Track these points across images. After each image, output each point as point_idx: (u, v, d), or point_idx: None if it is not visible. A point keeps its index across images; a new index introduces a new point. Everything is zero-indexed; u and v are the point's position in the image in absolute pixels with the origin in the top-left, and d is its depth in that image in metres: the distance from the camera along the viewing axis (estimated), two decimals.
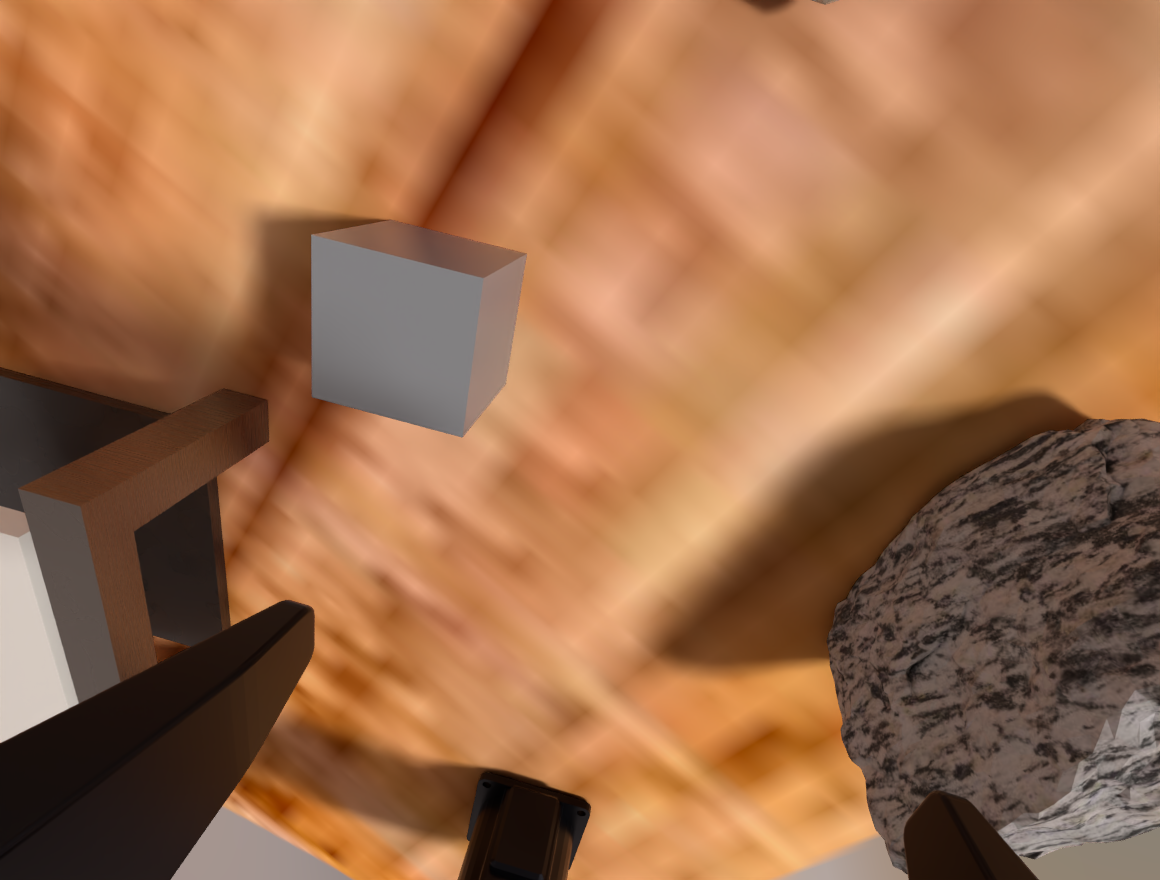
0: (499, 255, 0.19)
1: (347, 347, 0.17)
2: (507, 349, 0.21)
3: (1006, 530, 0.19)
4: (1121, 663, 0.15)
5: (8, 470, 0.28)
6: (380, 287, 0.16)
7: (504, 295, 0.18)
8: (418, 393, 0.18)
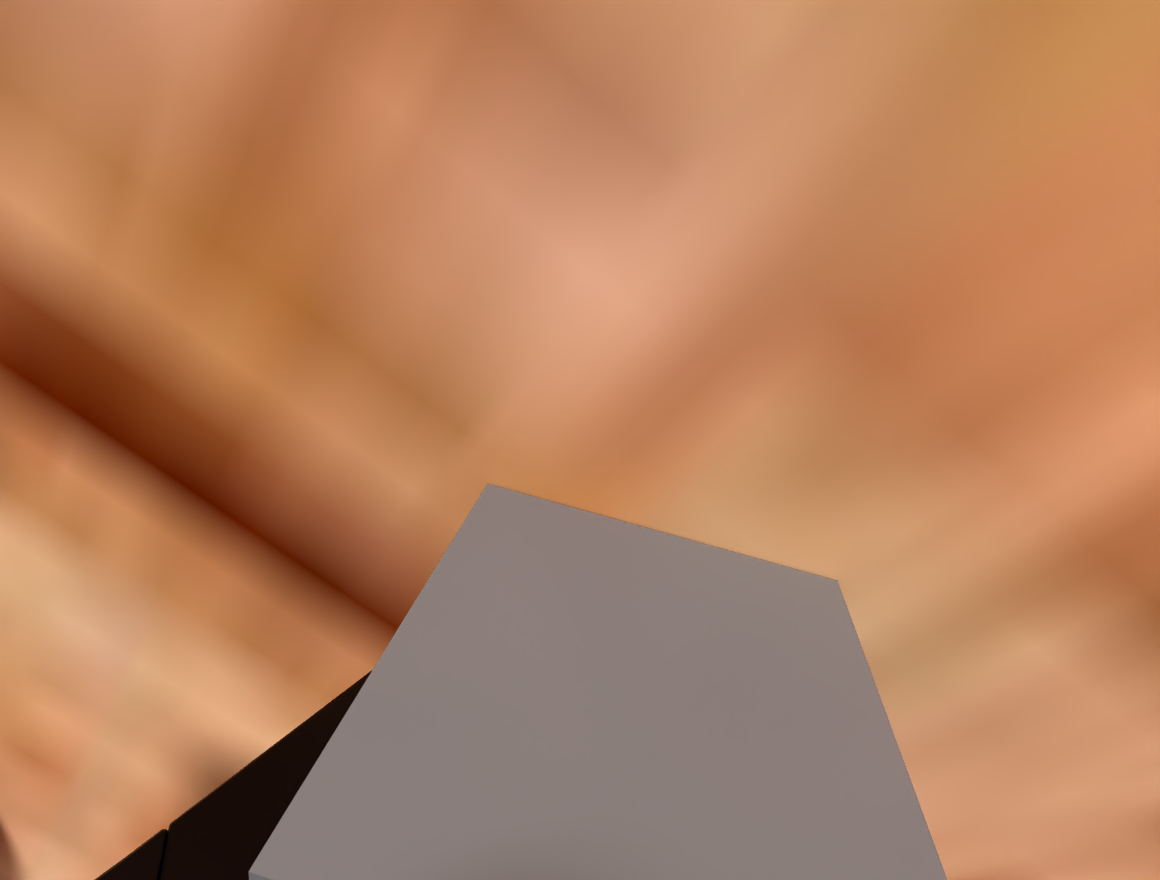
0: None
1: None
2: (724, 581, 0.07)
3: None
4: None
5: None
6: None
7: (509, 625, 0.06)
8: None
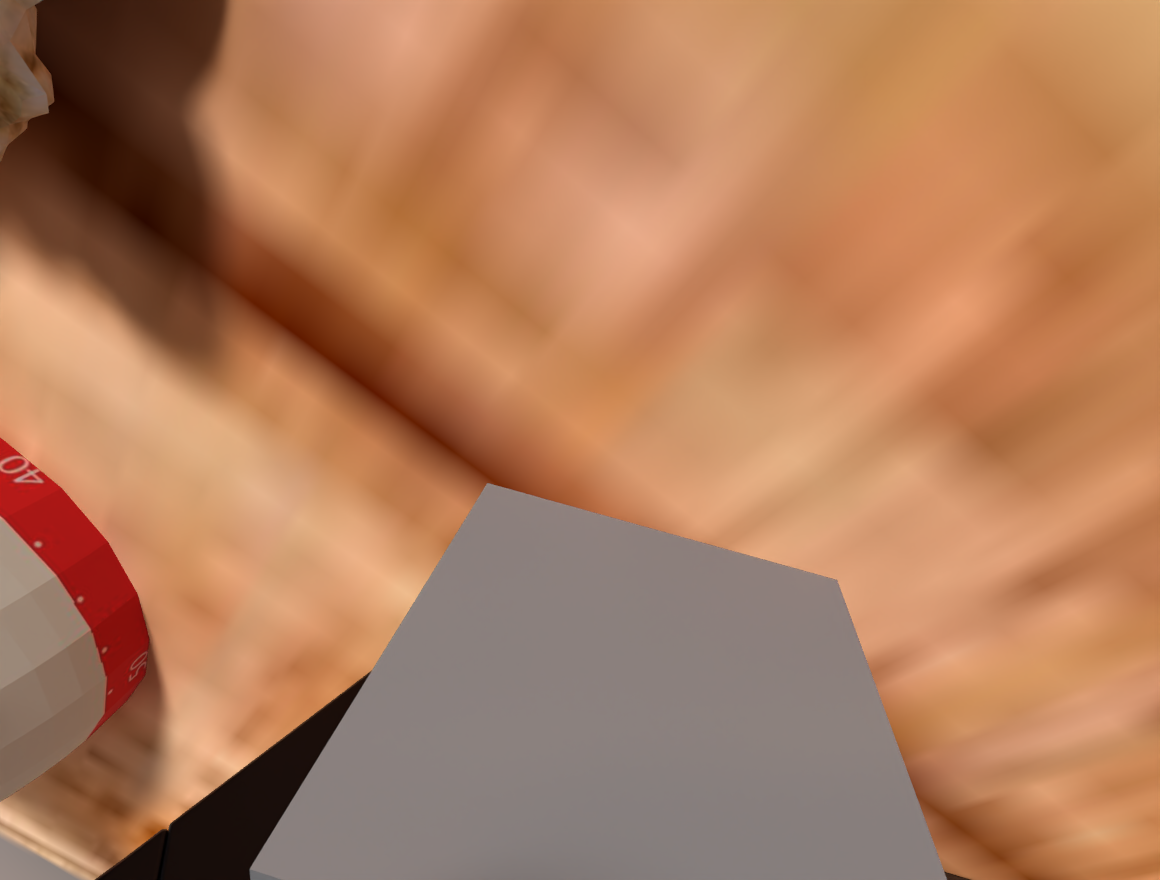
0: None
1: None
2: (724, 580, 0.07)
3: None
4: None
5: None
6: None
7: (509, 624, 0.06)
8: None
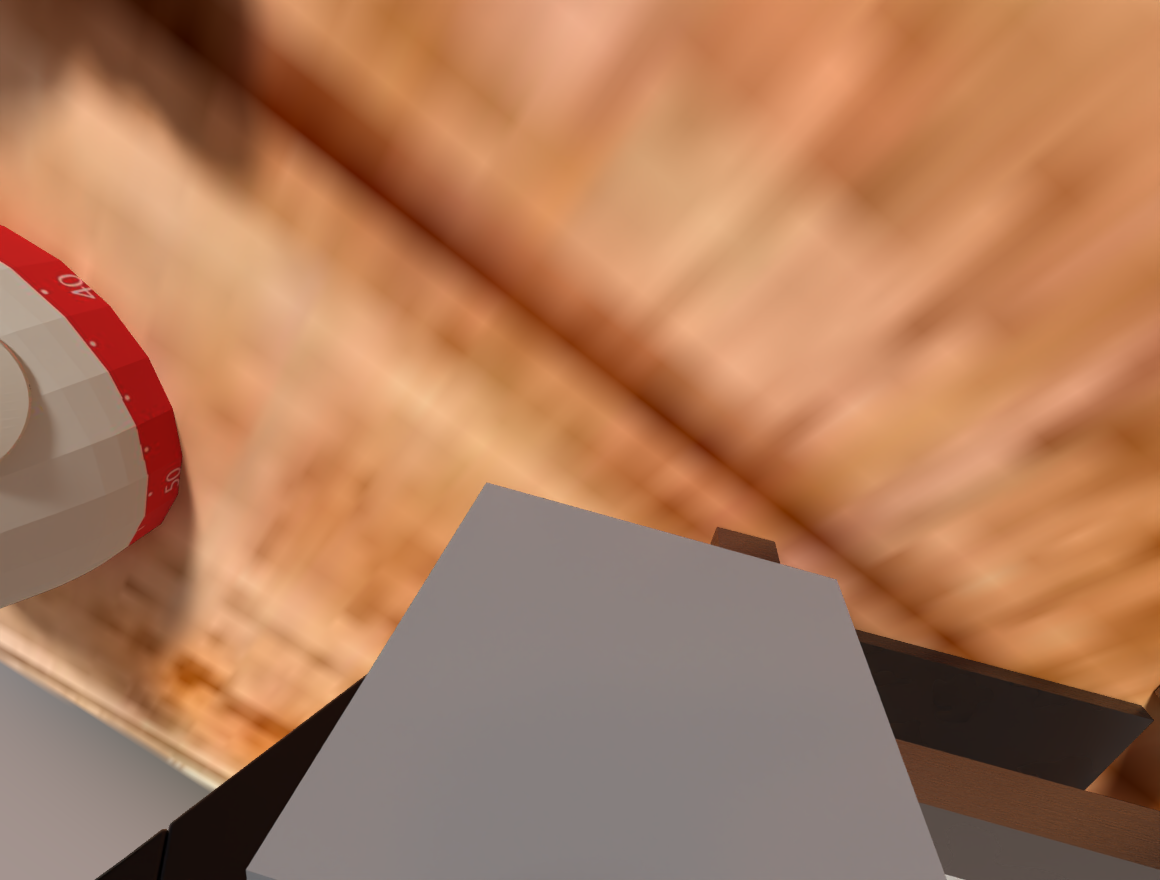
0: None
1: None
2: (723, 580, 0.07)
3: None
4: None
5: None
6: None
7: (508, 624, 0.06)
8: None
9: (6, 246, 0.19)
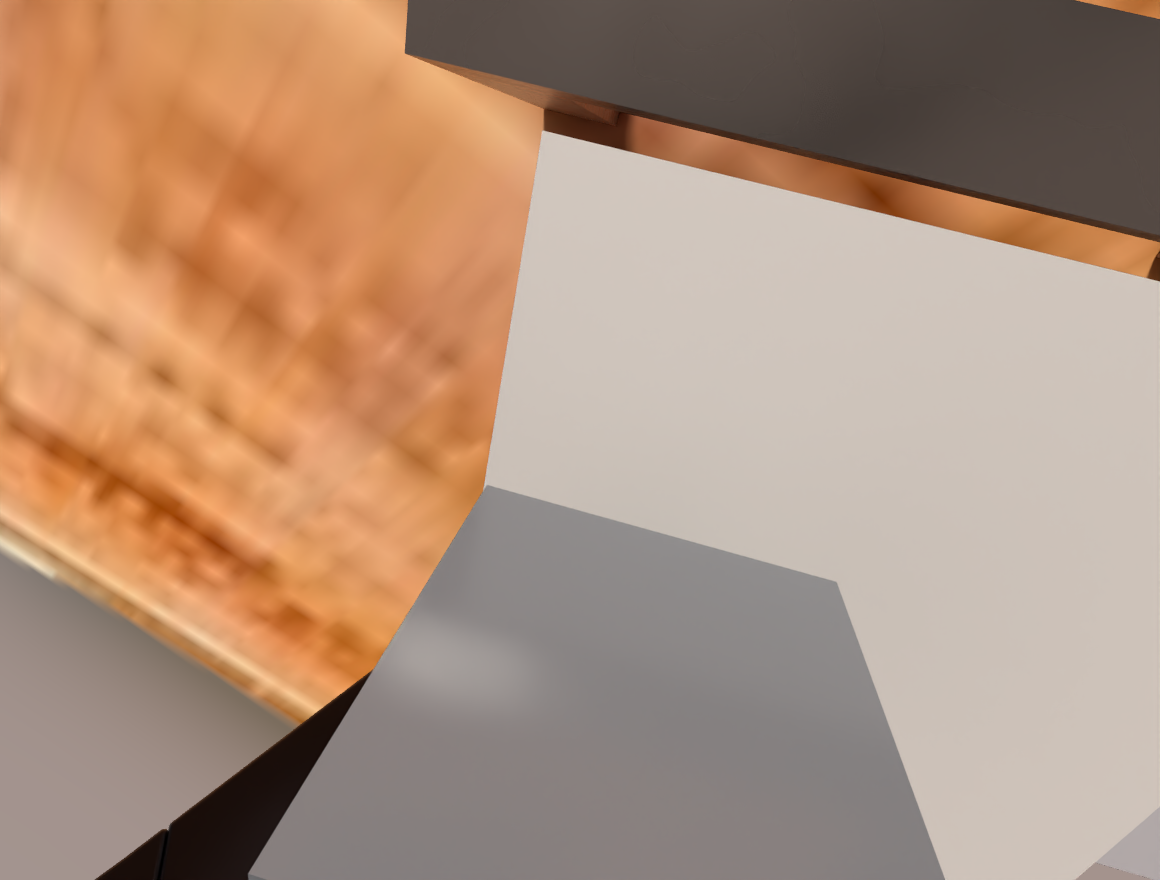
0: None
1: None
2: (723, 582, 0.07)
3: None
4: None
5: None
6: None
7: (508, 626, 0.06)
8: None
9: None
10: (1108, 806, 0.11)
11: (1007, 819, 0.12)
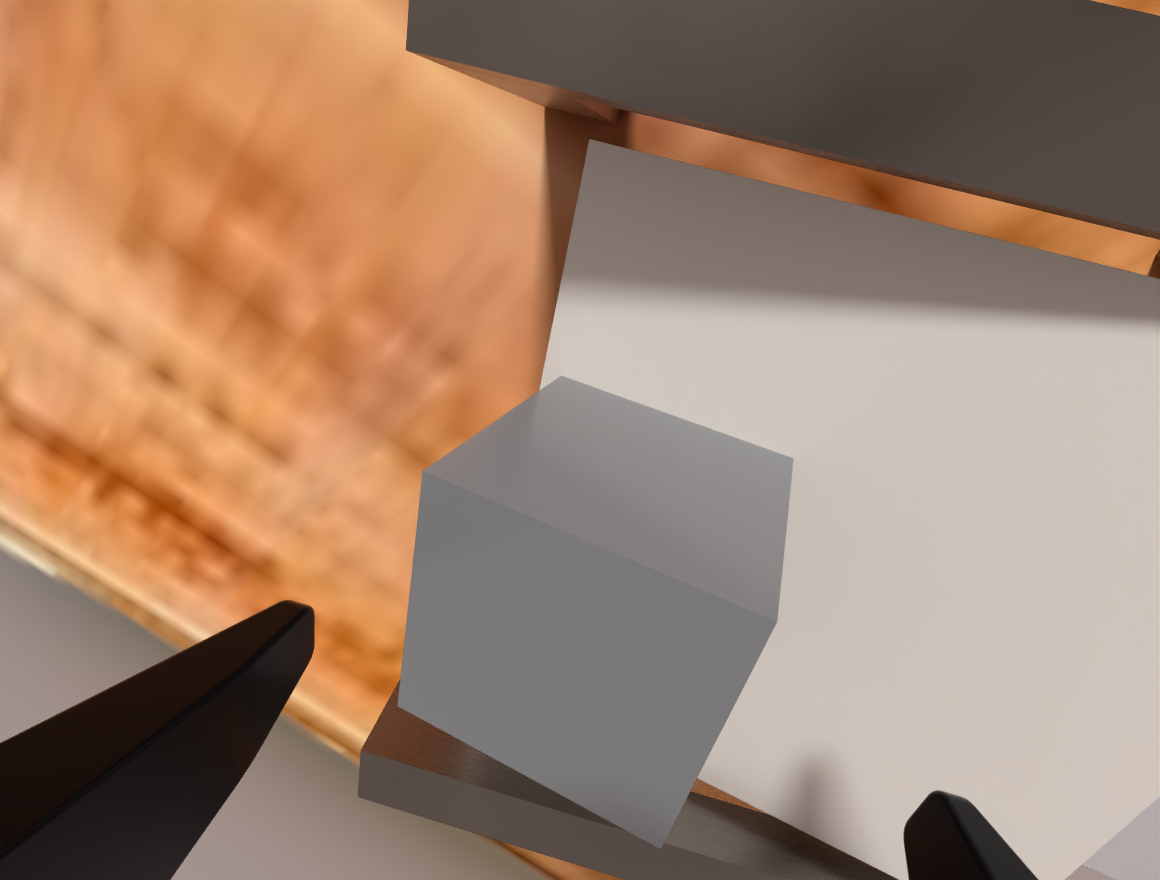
0: None
1: (562, 745, 0.09)
2: (707, 442, 0.11)
3: None
4: None
5: None
6: (457, 648, 0.09)
7: (559, 430, 0.10)
8: (654, 670, 0.08)
9: None
10: (1097, 794, 0.11)
11: (993, 795, 0.12)
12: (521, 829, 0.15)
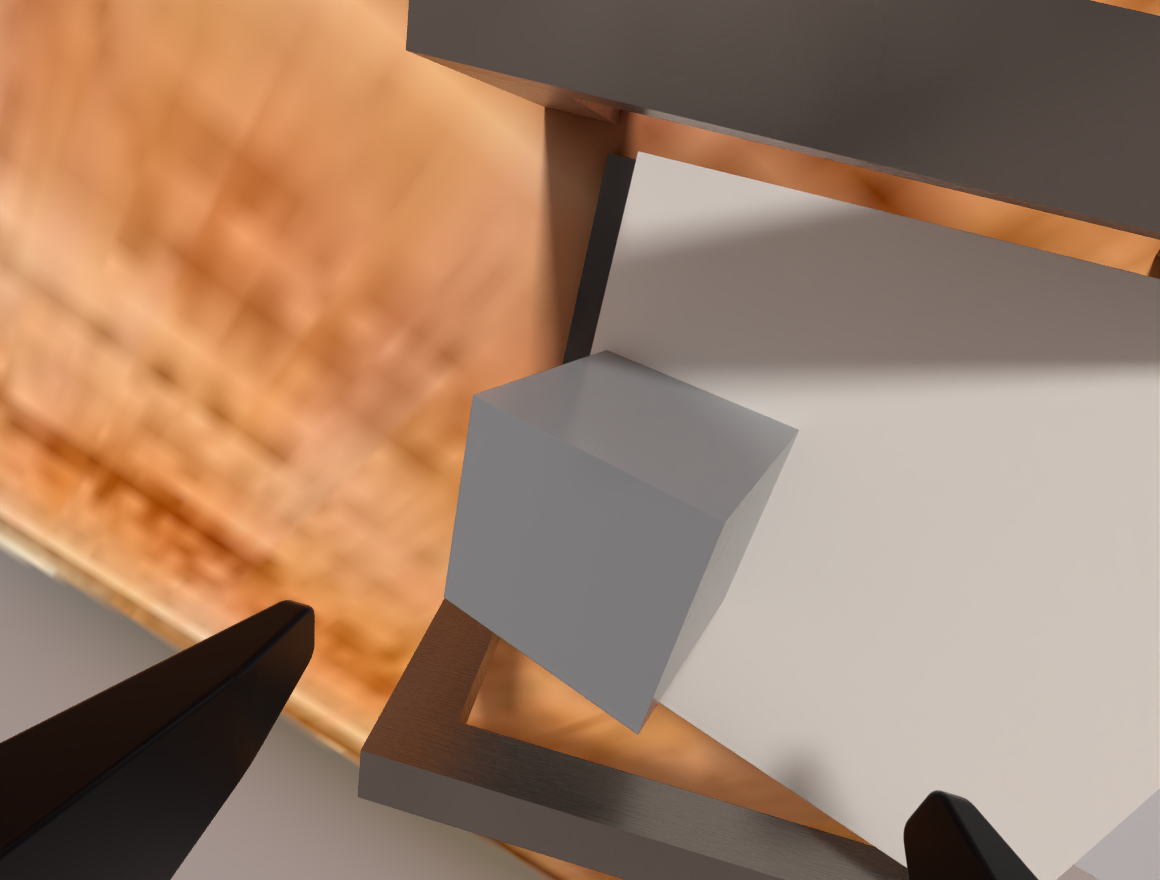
0: None
1: (564, 633, 0.11)
2: (720, 409, 0.13)
3: None
4: None
5: None
6: (490, 545, 0.11)
7: (590, 384, 0.12)
8: (634, 565, 0.10)
9: None
10: (1090, 785, 0.12)
11: (986, 777, 0.13)
12: (521, 829, 0.15)
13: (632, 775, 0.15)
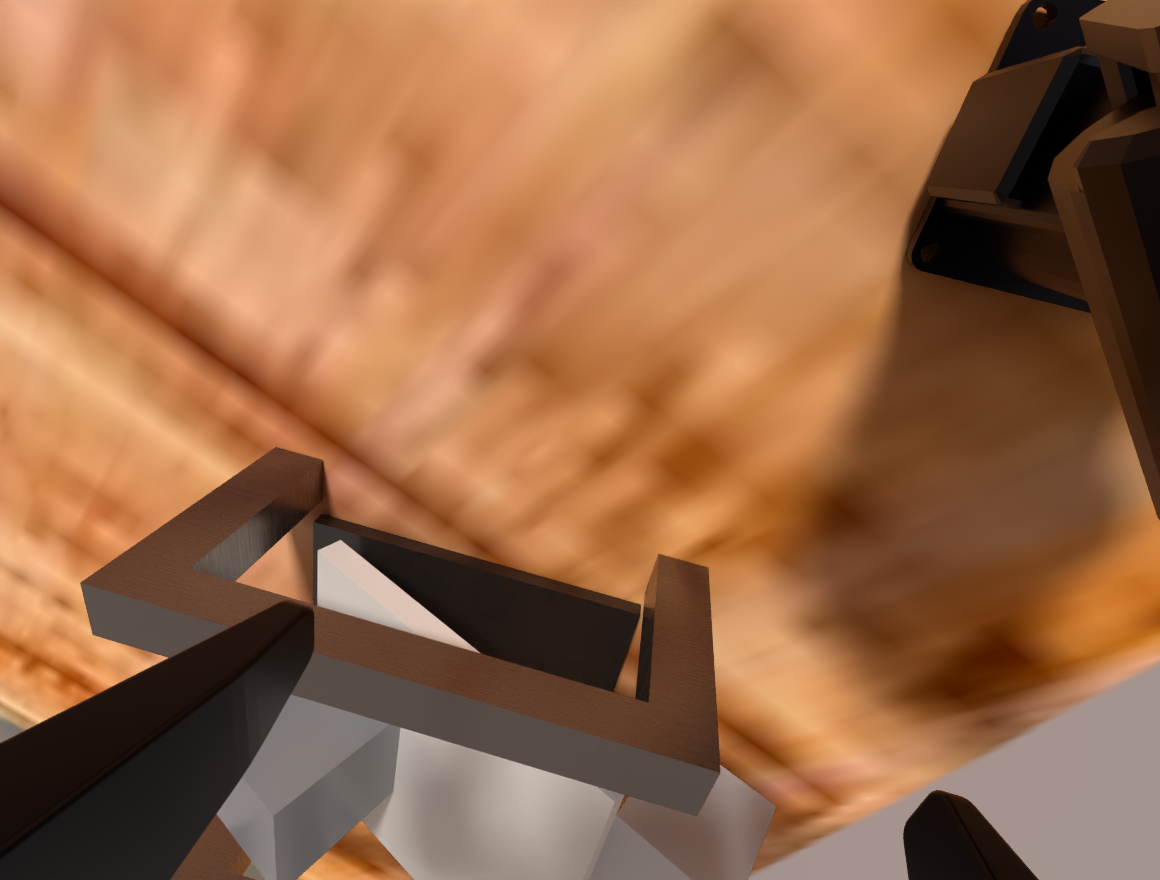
0: None
1: (245, 837, 0.21)
2: None
3: None
4: None
5: None
6: None
7: None
8: (256, 819, 0.19)
9: None
10: None
11: None
12: None
13: None
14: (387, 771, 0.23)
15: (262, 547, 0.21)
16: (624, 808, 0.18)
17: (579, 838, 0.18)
